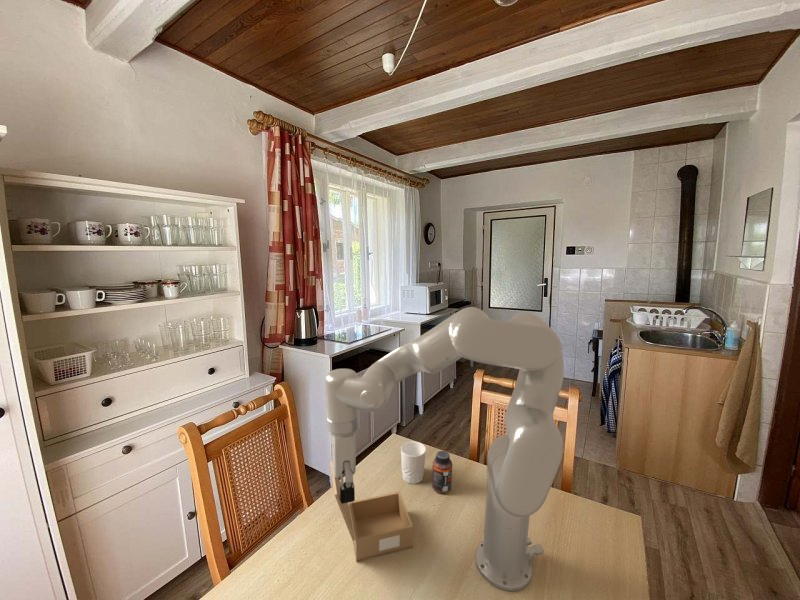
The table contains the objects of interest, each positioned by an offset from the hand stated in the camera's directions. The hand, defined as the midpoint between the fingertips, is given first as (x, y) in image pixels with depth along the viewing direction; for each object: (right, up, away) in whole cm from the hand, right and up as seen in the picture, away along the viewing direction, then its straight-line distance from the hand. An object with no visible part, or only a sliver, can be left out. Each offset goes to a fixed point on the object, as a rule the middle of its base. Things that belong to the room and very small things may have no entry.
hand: (345, 486), depth 82 cm
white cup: (+17, -12, +26) cm, 34 cm away
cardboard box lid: (0, -3, 0) cm, 3 cm away
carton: (+8, -15, +5) cm, 18 cm away
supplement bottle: (+26, -12, +22) cm, 36 cm away
